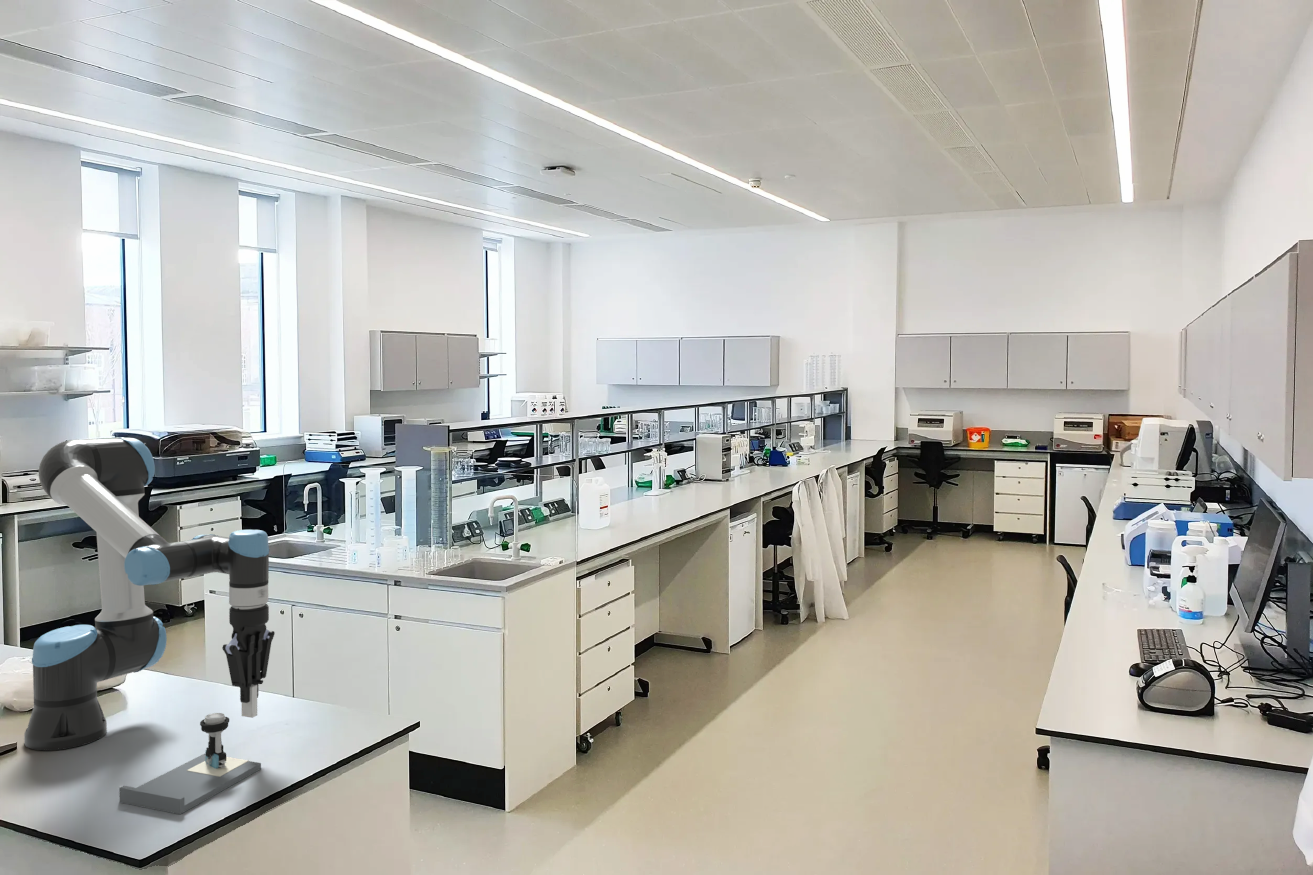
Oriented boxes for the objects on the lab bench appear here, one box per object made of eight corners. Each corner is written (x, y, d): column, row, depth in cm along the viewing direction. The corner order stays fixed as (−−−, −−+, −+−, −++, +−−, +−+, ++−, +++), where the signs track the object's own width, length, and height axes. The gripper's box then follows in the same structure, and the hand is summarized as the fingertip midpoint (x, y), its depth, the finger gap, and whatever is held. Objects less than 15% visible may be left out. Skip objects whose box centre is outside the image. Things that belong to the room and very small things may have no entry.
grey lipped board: (119, 802, 172) (119, 787, 172) (204, 758, 192) (204, 745, 192) (180, 814, 168) (180, 799, 168) (260, 768, 188) (260, 755, 188)
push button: (237, 766, 186) (237, 717, 186) (210, 774, 182) (210, 724, 182) (222, 756, 190) (221, 709, 190) (195, 764, 186) (195, 716, 186)
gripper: (241, 613, 186) (242, 728, 187) (285, 599, 198) (285, 707, 200) (211, 610, 188) (211, 724, 189) (256, 596, 200) (256, 703, 202)
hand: (249, 715), depth 195 cm, fingers closed
